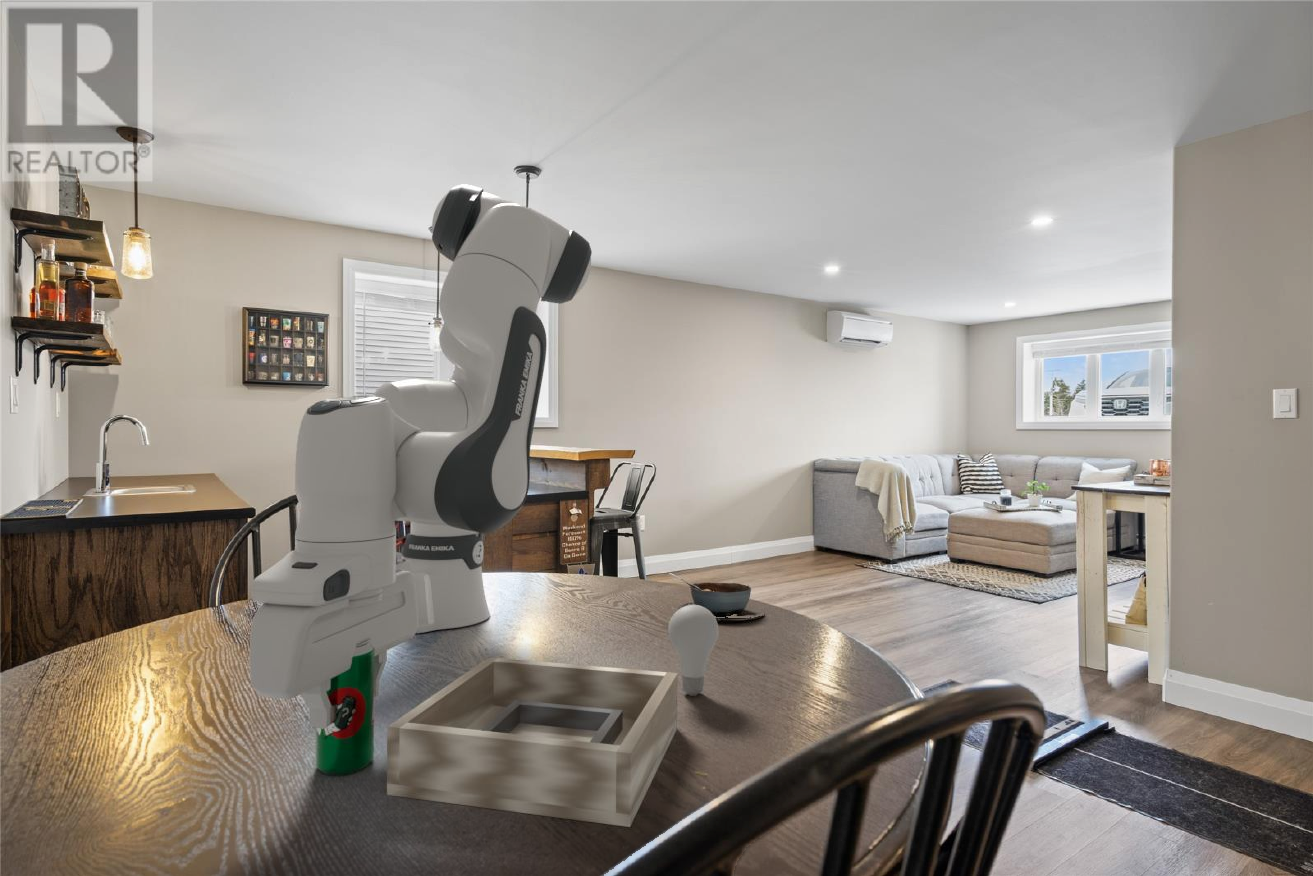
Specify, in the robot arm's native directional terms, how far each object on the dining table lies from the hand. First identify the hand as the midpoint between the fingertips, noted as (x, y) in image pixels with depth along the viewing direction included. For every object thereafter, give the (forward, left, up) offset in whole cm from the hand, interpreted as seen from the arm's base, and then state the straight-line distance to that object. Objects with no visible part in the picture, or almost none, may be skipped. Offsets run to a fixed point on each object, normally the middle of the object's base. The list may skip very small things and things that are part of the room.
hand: (346, 711), depth 69 cm
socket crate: (+18, +6, -5) cm, 20 cm away
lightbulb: (+29, +26, -5) cm, 39 cm away
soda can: (0, 0, -5) cm, 5 cm away
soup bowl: (+27, +65, -6) cm, 70 cm away
